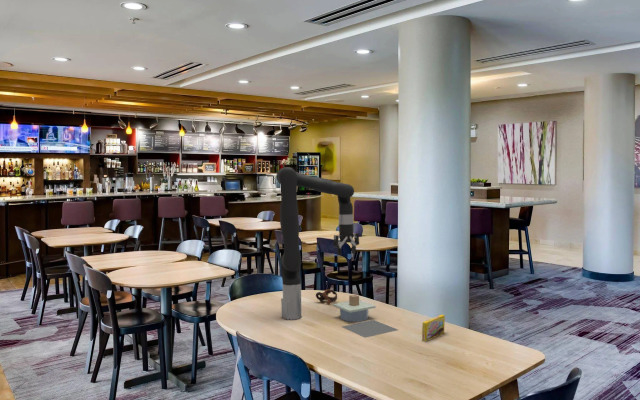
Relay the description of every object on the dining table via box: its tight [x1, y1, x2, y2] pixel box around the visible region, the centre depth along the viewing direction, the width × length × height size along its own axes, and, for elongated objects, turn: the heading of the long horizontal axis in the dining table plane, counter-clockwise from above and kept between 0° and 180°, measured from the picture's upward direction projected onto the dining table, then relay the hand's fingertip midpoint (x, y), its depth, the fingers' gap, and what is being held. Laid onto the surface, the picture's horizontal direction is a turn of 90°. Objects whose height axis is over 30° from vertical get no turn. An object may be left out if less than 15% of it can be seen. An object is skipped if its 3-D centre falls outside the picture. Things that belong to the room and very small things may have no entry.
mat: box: [341, 319, 399, 339], centre depth 243 cm, size 19×19×1 cm
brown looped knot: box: [315, 288, 338, 305], centre depth 292 cm, size 12×10×8 cm
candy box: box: [421, 313, 446, 342], centre depth 231 cm, size 16×2×8 cm, turn 137°
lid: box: [332, 294, 377, 313], centre depth 260 cm, size 15×15×6 cm
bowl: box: [339, 308, 369, 323], centre depth 260 cm, size 13×13×6 cm
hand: (346, 254), depth 271 cm, fingers open, 8 cm apart
